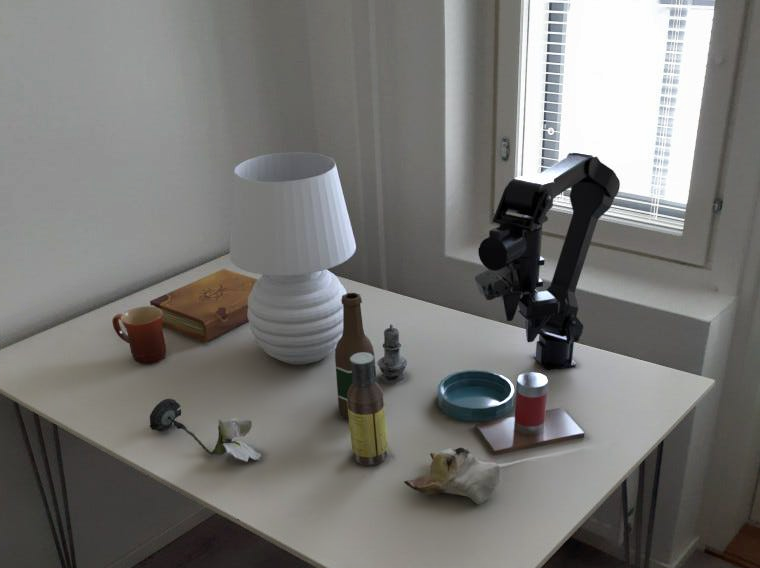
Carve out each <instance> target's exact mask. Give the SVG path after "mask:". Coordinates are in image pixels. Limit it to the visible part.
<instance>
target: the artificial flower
mask: <svg viewBox="0 0 760 568" xmlns="http://www.w3.org/2000/svg"><path fill="white" fill-rule="evenodd" d="M182 413H183V412H182V409H181V405H180V403H179V402H177V401H176V399H173V398H165V399H163V400H161V401H159V402H158V403H157V404H156V405H155V406H154V408H153V410H151V413H150V414H149V428H150V430H152V431H156V432H159V433H164V432H165V431H166V430H168V429H170V428H171V427H172V426H174V427H176V428H177V430H180V429H181V430H183V431H185V432H186V433H187V434H188V435H189V436H191V437H192V438H193V439H194V440H195V441H196V442H197V443H198V444H199V446H201V448H202V449H203V450H204V451H205V452H206V454H209V455H210V456H214V455H220V456H221V455H224V454H226V453H228V454H230V455H232V456H233V457H234V458H235V459H237V460H240V461H244V462H246V463H247V462H249V459H251V460H254V461H260V458H261V457H262V456H261V453H259V452H257V451H255V450H254V449H253V448H252V446H250V445H247V444H246V443H244V442H242V441H239V440H237V439H236V440H233V439H235V438H240V437H245V436H247V435H248V434H249V433H250V431H251V429H253V421H252V420H249V419H240V418H238V417H232V418H231V419H230V420H229V421H224V420H221V419H218V425H217V431H218V437H217V438H218V439H217V442H216V444H215V447H214V449H213V450H212V451H210V450H209V449H208V448H207V447H206V445H205V444H204V443H203V442H202V441H201V440H200V439H199V438H198V437H197V436H196V435H195V434H194V433H193V432H192V431H190V430H189V429H188V427H187V426H186V425H185V424H184V423H182V422H180V421H178V420H176V419H177V418H178V417H181V416H182Z"/></svg>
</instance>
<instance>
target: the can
mask: <svg viewBox="0 0 760 568" xmlns="http://www.w3.org/2000/svg"><path fill="white" fill-rule="evenodd" d="M548 383H549V380H548V378H547V376H546V375H544V374H542V373H539V372H535V371H534V372H531V371H529V372H524V373H521V374H519V375H518V376H517V378H516V389H515V402H514V406H515V407H514V417H515V424H514V429H515V431H516V432H518V433H519V434H521V435H525V436H536V435H539V434H541V433H542V432H543V431H544V422H545V412H546V409H547V398H548V397H547V396H548V385H549V384H548Z"/></svg>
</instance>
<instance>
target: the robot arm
mask: <svg viewBox="0 0 760 568" xmlns="http://www.w3.org/2000/svg"><path fill="white" fill-rule="evenodd" d="M620 187H621V182H620V180H619V177H618V176H617V174H616V172H615V171H614V169H612V168H610V167H609V166H607V165H606V164H604V163H603V162H601V161H600V159H599V157H598V156H596V155H595V154H594V153H589V152H584V151H577V150H574V151H570V152H569V153H568V154H567V156H566V157H565V158H563V159H561V160H560V161H558V162H556V163H554V164H553V165H551V166H550V167H548V168H546V169H545V170H543V171H541V172H540V173H537V174H534V175H521V176H517V177H515V178H512V179H511V180H510V181H509V182H508V183H507V184H506V186H505V188H504V189H503V191H502V195H501V197H500V200H499V202H498V205H497V208H496V211H495V213H494V215H493V218H492V223H493V224H498V225H499V226H498V227H494V228H492V229H490V230H489V232H488V237H485V238H484V239H483V240H482V241H481V242H480V244H479V247H478V251H477V253H478V258H479V260H480V262H481V264H482V265H483V266H484V267H485V268H486V270H484V271H483V272H480V273H479V274H477V275H475V276H474V280H475V283H476V286H477V289H478V291H479V294H480V295H482V296H483V297H484V299H485V300H487V301H492V300H494V299H496V298H497V299H498V298H500V300H501V304H502V308H503V310H504V311H503V312H504V315H505V320H506V321H507V322H512V321H513V320H514V318H515V315H516V314H517V313H516V312H518V313H519V314H520V316H522V317H523V319H524V324H525V336H526V342H527V343H533V342H535V340H536V338H537V336H538V340H537V341H536V343H535V344H536V346H535V354H534V355H533V358H534V359H535V360H536V361H537V363H539V364H540V365H541V366H542V368H544V369H545V370H546V371H555V370H559V369H566V368H571V367H575V366H576V365H577V362H576V361H574V359H573V356H574V345H575V343H576V342H577V343H578V342H579V341H580V339H581V338H580V337H581V336H582V334H583V329H584V324H583V323H582V321H580V320H579V318H578V317H577V315H578V311H579V304H578V299H577V297H576V289H577V287H578V283H579V281H580V277H581V274H582V270H583V267H584V265H585V261H586V258H587V255H588V252H589V248H590V245H591V242H592V239H593V237H594V233H595V230H596V227H597V223H598V221H599V219H600V218H601V217H602V216H604V215H605V214H606V213H607V211H609V210H610V209H611V208H612V205H613V202H614V200H615V198H616V197H617V195H618V194H619V191H620ZM569 189H570V193H569V200H570V204H571V209H572V215H571V219H570V221H569V225H568V228H567V232H566V234H565V238H564V241H563V243H562V247H561V251H560V253H559V258H558V260H557V264H556V266H555V270H554V273H553V276H552V279H551V283H550V285H549V286H548V287H547V288H546V289H545V290H543V291H538V290H537V288H542V287H544V281H543V280H542V279H541V277H540V269H541V266H545V258H543V257H542V256H541V255H542V254H541V253H542V251H541V250H542V237H543V224H544V223H546V222H547V221H548V220H549V217H548V216H547V213H548V212H549V211H550V210H551V209H552V208H553V207H554V200H555V198H556V197H558V196H559V195H561V194H562V193H564V192H565V191H567V190H569ZM509 213H512V214H509ZM514 214H517V215H514ZM518 215H521V216H518ZM518 308H519V310H518V311H517V309H518Z"/></svg>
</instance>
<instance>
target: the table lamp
mask: <svg viewBox="0 0 760 568" xmlns="http://www.w3.org/2000/svg"><path fill="white" fill-rule="evenodd" d="M341 184H342V183H341V180H340V176H339V172H338V168H337V165H336V161H335V160H334V159H333V157H329V156H326V155H324V154H320V153H315V152H304V151H301V152H299V151H297V152H294V151H293V152H278V153H277V152H276V153H271V154H264V155H259V156H255V157H253V158H250V159H246V160H245V161H243V162H241V163H239V164H238V165H236V166H235V167H234V172H233V190H232V206H231V207H232V209H231V224H230V242H229V259H230V262H231V263H232V264H233V265H234V266H235V267H237V268H238V269H240V270H243V271H245V272H249V273H251V274H258V275H261V276H260V277H259V278H257V279H258V280H257V281H256V282H255V284H254V287H253V289H252V291H251V293H250V295H249V297H248V312H247V316H248V320H249V322H248V327H249V330H250V332H251V333H252V335H253V337H254V339H255V342H256V344H257V345H258V346H259V347H260V348H261V349H262V350H264V352H265V353H266V354H267V355H269V357H272V358H274V359H276V360H278V361H280V362H283V363H285V364H290V365H308V364H313V363H317V362H319V361H321V360H323V359H324V358H326V357H328V355H330V354H331V353H333V352H335V349H336V346H337V343H338V341H339V340H340V338H341V337H342V334H343V304H342V301H341V300H342V296H343V295H345V294H347V293H348V292H347V289H346V288H345V286H344V284H342V283H341V282H340V279H339V278H338V276H337V275H335V274H334V273H333V272H331V271H329V269H332V268H335V267H337V266H339V265H342V264H343V263H344V262H346V261H348V260H349V259H351V258H352V257H353V256H354V254H355V253H356V250H357V244H356V239H355V236H354V233H353V228H352V224H351V220H350V216H349V212H348V208H347V204H346V201H345V197H344V193H343V188H342V185H341Z"/></svg>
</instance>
